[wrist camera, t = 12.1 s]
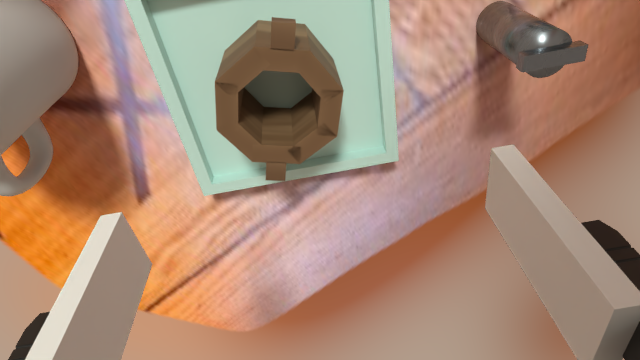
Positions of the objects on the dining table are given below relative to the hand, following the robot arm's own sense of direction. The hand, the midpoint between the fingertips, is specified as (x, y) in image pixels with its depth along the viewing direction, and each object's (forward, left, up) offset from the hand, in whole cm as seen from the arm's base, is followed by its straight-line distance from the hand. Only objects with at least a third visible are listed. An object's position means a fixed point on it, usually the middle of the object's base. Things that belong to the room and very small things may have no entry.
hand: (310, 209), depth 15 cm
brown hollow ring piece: (+2, -2, -19) cm, 19 cm away
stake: (+1, +15, -20) cm, 25 cm away
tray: (+2, -2, -20) cm, 20 cm away
